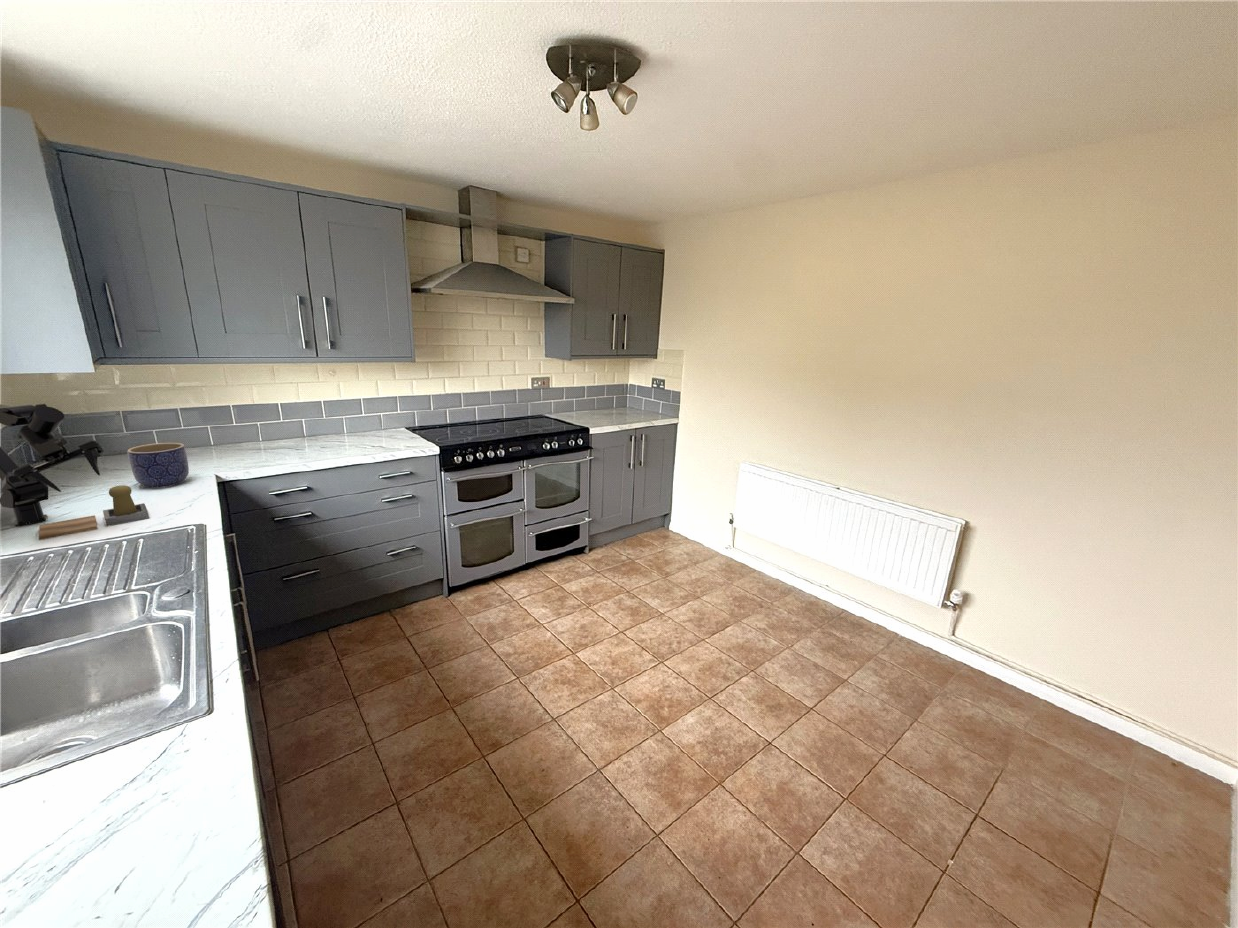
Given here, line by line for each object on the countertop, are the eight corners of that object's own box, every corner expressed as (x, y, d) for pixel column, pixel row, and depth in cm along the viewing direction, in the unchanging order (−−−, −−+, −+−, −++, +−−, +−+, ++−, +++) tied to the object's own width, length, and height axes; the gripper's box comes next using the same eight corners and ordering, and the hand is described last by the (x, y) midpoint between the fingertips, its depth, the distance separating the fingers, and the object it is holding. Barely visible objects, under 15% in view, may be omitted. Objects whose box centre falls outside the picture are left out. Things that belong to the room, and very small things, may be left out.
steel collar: (104, 517, 162) (102, 510, 161) (146, 509, 169) (144, 503, 168) (106, 526, 155) (104, 519, 155) (149, 518, 163) (147, 511, 162)
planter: (126, 492, 184) (117, 454, 180) (148, 479, 199) (139, 443, 195) (182, 488, 190) (173, 451, 186) (198, 476, 205) (191, 441, 201)
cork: (109, 522, 159) (100, 489, 156) (121, 515, 164) (113, 483, 161) (132, 520, 160) (124, 488, 157) (144, 513, 166) (136, 483, 163)
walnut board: (40, 527, 153) (39, 524, 152) (95, 518, 161) (95, 515, 161) (39, 540, 145) (38, 536, 145) (97, 529, 153) (96, 526, 153)
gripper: (-13, 447, 134) (27, 492, 136) (74, 416, 146) (110, 458, 147) (5, 461, 143) (42, 503, 144) (86, 430, 155) (120, 470, 156)
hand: (79, 482), depth 148 cm, fingers open, 9 cm apart
